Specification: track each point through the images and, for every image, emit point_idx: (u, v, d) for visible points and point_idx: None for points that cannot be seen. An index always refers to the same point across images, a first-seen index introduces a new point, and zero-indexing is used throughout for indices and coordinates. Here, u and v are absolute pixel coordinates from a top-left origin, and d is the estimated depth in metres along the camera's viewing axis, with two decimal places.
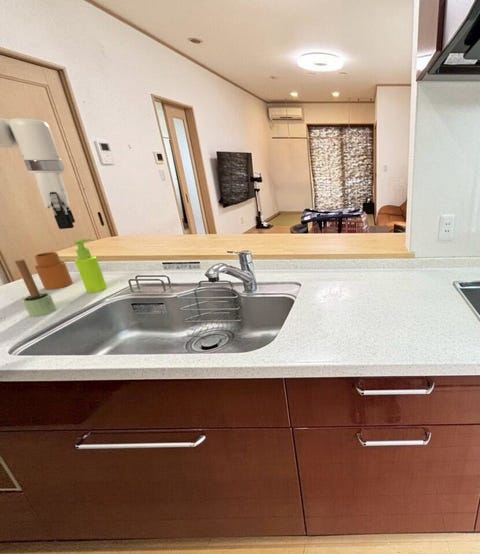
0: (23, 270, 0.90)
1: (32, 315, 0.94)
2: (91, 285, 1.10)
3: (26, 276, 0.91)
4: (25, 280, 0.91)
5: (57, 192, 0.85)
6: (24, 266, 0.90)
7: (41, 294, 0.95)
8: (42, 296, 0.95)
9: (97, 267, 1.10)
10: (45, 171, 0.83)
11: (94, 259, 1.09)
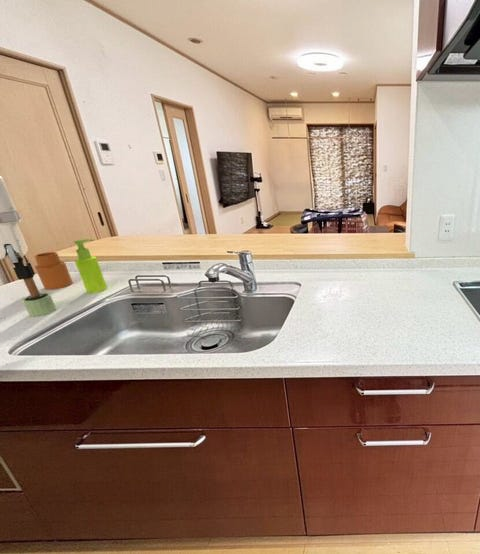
0: None
1: (32, 315, 0.94)
2: (91, 285, 1.10)
3: None
4: (25, 280, 0.91)
5: (11, 244, 0.85)
6: None
7: (41, 294, 0.95)
8: (42, 296, 0.95)
9: (97, 267, 1.10)
10: None
11: (94, 259, 1.09)
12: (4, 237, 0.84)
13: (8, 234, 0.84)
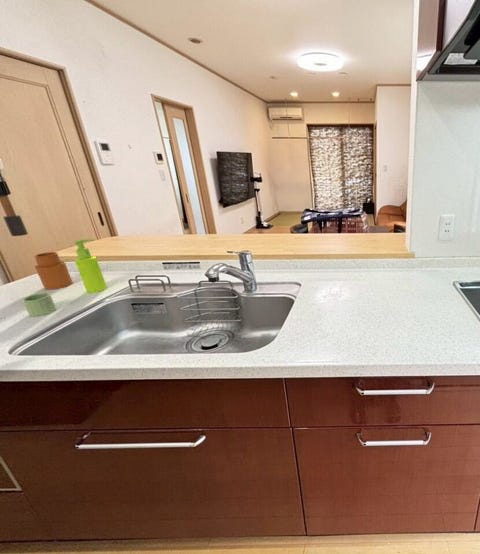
0: None
1: (32, 315, 0.94)
2: (91, 285, 1.10)
3: None
4: (0, 198, 0.90)
5: None
6: None
7: (17, 215, 0.93)
8: (18, 217, 0.93)
9: (97, 267, 1.10)
10: None
11: (94, 259, 1.09)
12: None
13: None
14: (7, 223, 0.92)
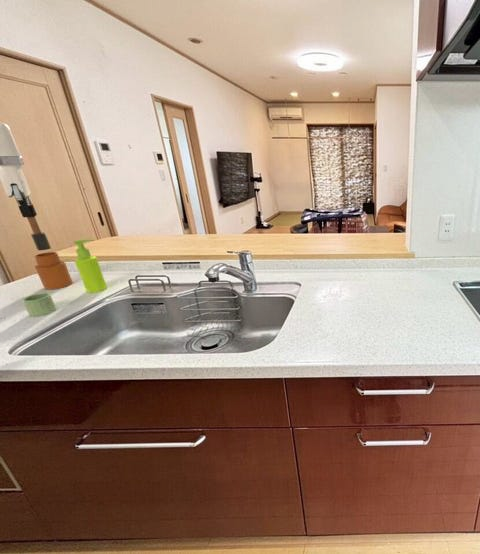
0: None
1: (32, 315, 0.94)
2: (91, 285, 1.10)
3: None
4: (29, 218, 1.07)
5: (17, 183, 1.00)
6: None
7: (42, 233, 1.11)
8: (43, 234, 1.10)
9: (97, 267, 1.10)
10: (6, 165, 0.98)
11: (94, 259, 1.09)
12: (11, 177, 0.99)
13: (14, 175, 0.99)
14: (34, 239, 1.09)
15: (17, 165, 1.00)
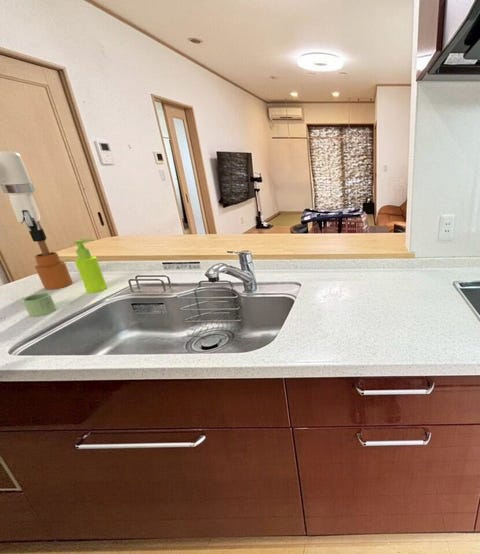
0: None
1: (32, 315, 0.94)
2: (91, 285, 1.10)
3: None
4: (39, 242, 1.10)
5: (28, 210, 1.03)
6: None
7: None
8: None
9: (97, 267, 1.10)
10: (18, 193, 1.01)
11: (94, 259, 1.09)
12: (22, 204, 1.02)
13: (25, 202, 1.03)
14: None
15: (28, 192, 1.03)
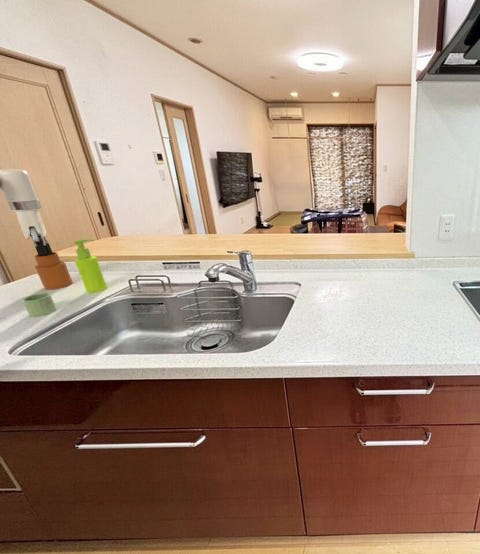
0: None
1: (32, 315, 0.94)
2: (91, 285, 1.10)
3: None
4: None
5: (35, 226, 1.05)
6: None
7: None
8: None
9: (97, 267, 1.10)
10: (25, 210, 1.04)
11: (94, 259, 1.09)
12: (29, 221, 1.04)
13: (32, 218, 1.05)
14: None
15: (35, 209, 1.06)
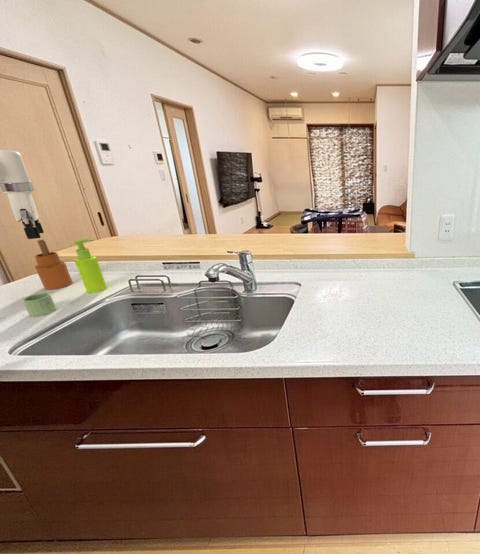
0: (43, 248, 1.11)
1: (32, 315, 0.94)
2: (91, 285, 1.10)
3: (46, 253, 1.12)
4: None
5: (26, 209, 1.03)
6: (44, 245, 1.11)
7: None
8: None
9: (97, 267, 1.10)
10: (16, 192, 1.01)
11: (94, 259, 1.09)
12: (21, 203, 1.02)
13: (24, 201, 1.02)
14: None
15: (27, 191, 1.03)
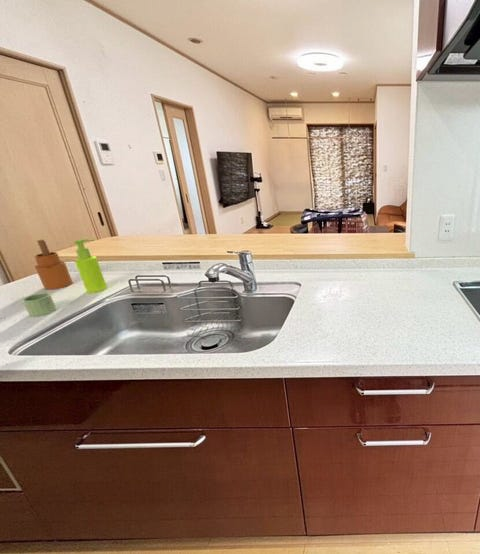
0: (43, 248, 1.11)
1: (32, 315, 0.94)
2: (91, 285, 1.10)
3: (46, 253, 1.12)
4: None
5: None
6: (44, 245, 1.11)
7: None
8: None
9: (97, 267, 1.10)
10: None
11: (94, 259, 1.09)
12: None
13: None
14: None
15: None
